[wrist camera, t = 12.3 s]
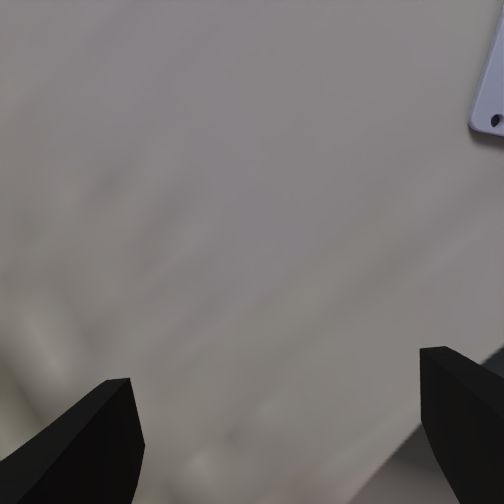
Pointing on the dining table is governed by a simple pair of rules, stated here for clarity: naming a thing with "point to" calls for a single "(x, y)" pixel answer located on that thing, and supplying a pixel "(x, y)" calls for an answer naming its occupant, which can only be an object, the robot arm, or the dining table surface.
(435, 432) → the robot arm
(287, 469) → the dining table surface
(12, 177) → the dining table surface
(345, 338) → the dining table surface
